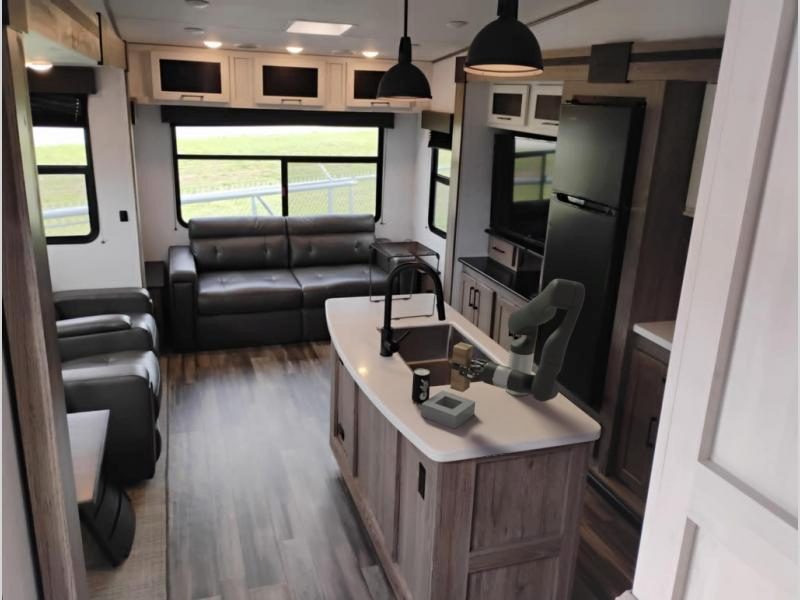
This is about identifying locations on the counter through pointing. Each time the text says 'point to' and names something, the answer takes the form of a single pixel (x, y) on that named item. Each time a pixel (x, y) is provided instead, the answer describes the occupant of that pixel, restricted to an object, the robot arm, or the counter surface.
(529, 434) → the counter surface
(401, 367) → the counter surface
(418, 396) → the beverage can
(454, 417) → the well block
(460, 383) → the tall wooden block
